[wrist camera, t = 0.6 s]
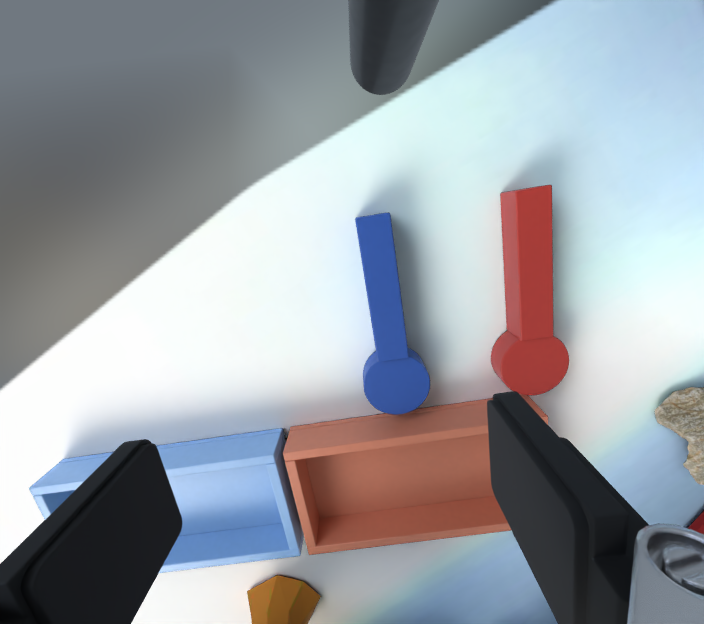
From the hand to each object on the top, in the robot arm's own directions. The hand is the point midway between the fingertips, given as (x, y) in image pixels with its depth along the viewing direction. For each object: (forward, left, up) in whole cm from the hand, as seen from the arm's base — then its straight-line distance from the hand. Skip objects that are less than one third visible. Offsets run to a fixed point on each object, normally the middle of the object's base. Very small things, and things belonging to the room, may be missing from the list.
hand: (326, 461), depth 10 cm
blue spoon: (0, +3, -14) cm, 15 cm away
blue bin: (+12, -15, -14) cm, 24 cm away
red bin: (+12, +3, -14) cm, 19 cm away
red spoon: (0, +12, -14) cm, 19 cm away
